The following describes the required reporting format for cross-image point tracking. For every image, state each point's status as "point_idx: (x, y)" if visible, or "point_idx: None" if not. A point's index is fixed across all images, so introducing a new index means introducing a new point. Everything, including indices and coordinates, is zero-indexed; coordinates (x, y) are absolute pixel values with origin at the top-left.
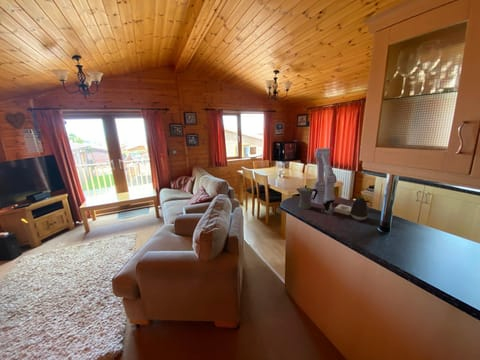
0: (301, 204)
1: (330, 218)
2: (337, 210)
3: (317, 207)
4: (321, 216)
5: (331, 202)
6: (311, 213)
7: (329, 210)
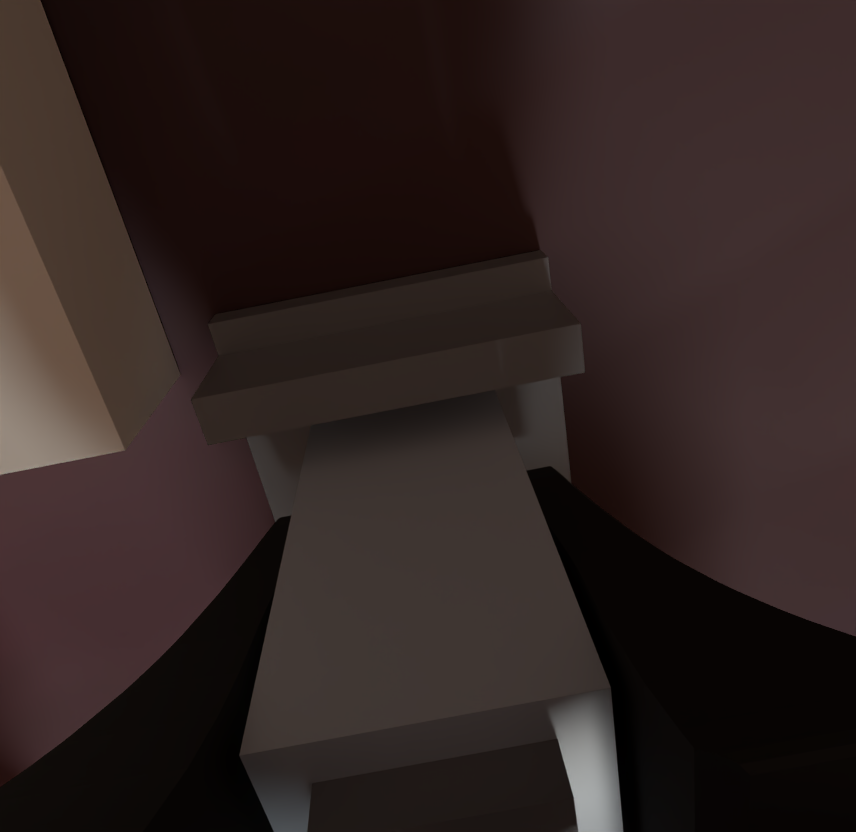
0: None
1: (807, 118)
2: (100, 291)
3: None
4: (837, 409)
5: (237, 788)
6: None
7: (504, 443)
